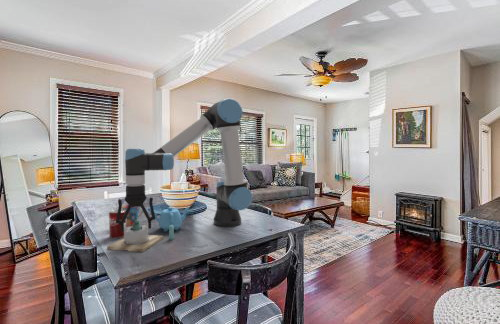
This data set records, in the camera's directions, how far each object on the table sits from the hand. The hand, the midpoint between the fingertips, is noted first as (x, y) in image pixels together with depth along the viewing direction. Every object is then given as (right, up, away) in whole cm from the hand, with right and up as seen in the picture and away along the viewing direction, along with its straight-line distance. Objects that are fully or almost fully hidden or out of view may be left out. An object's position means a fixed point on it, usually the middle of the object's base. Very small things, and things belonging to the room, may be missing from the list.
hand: (136, 237), depth 115 cm
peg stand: (0, -3, 0) cm, 3 cm away
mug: (-13, -2, +28) cm, 31 cm away
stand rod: (+13, -2, +6) cm, 15 cm away
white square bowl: (0, -1, 0) cm, 1 cm away
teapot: (+9, -2, +22) cm, 24 cm away
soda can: (-12, -2, +10) cm, 16 cm away
